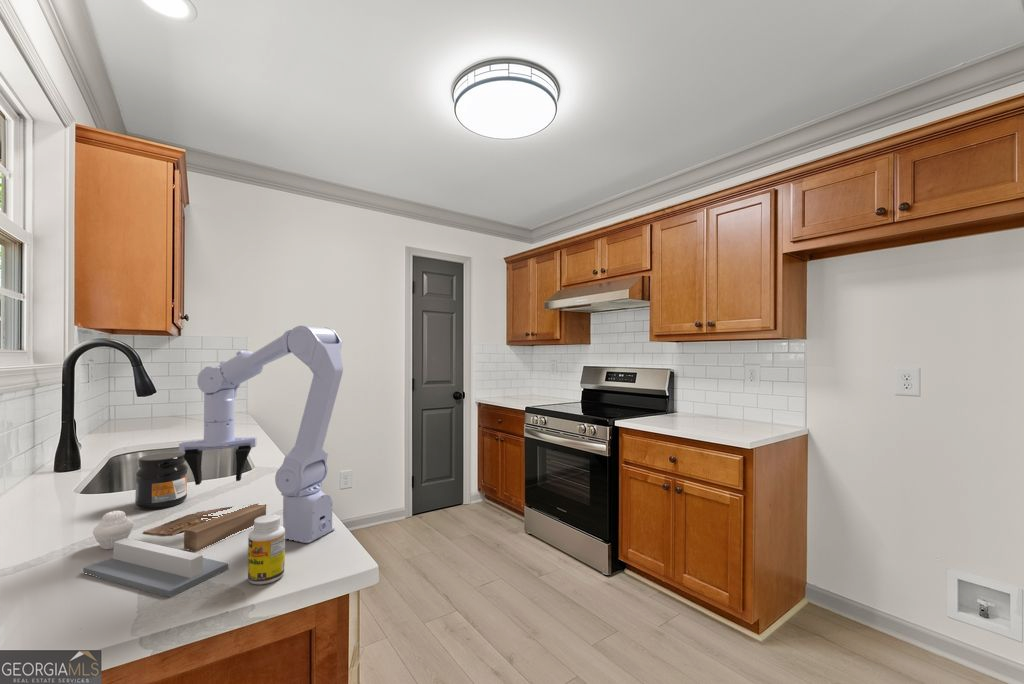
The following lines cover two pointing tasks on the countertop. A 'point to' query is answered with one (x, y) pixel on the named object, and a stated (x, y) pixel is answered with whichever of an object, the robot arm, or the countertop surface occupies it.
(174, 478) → the supplement container
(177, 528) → the fossil skeleton slab
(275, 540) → the supplement bottle
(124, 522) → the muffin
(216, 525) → the walnut batten
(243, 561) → the countertop surface
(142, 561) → the balance stand
